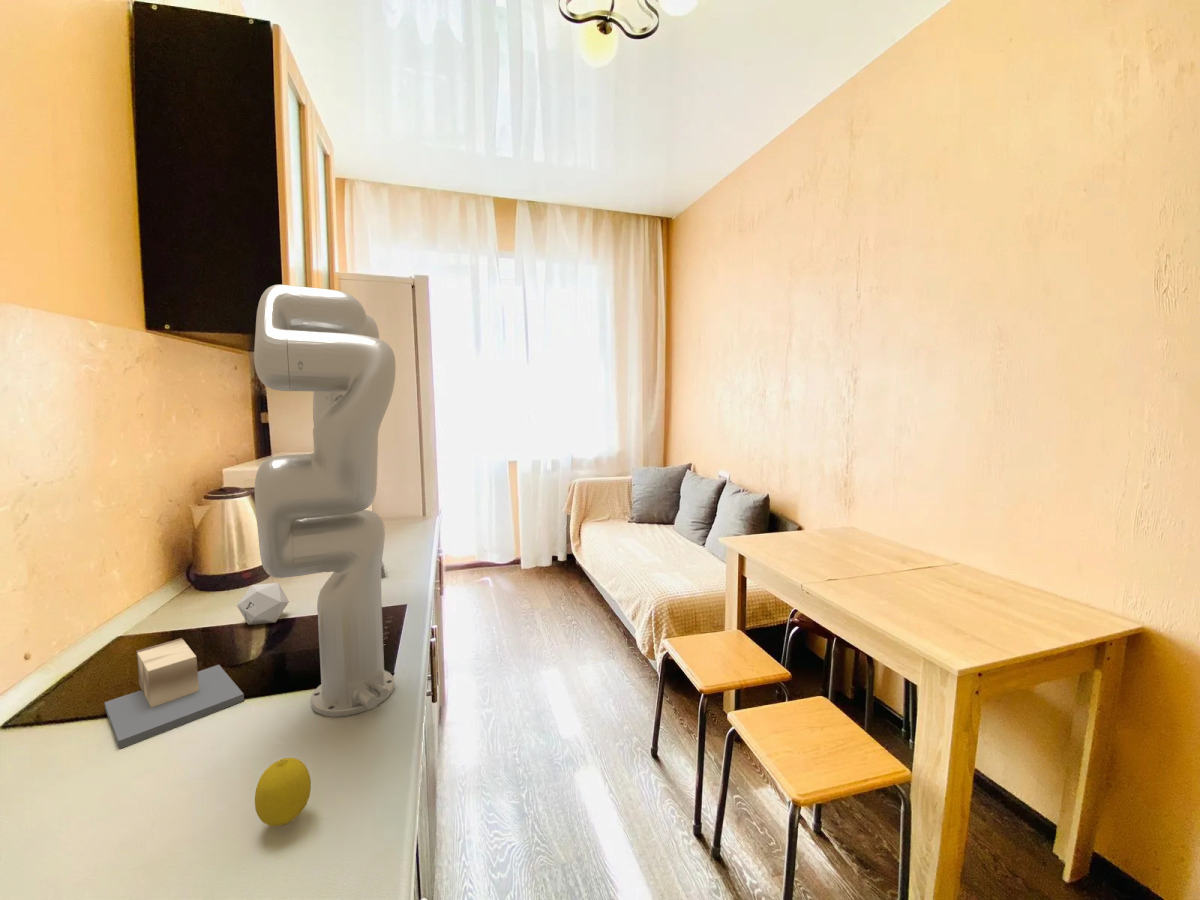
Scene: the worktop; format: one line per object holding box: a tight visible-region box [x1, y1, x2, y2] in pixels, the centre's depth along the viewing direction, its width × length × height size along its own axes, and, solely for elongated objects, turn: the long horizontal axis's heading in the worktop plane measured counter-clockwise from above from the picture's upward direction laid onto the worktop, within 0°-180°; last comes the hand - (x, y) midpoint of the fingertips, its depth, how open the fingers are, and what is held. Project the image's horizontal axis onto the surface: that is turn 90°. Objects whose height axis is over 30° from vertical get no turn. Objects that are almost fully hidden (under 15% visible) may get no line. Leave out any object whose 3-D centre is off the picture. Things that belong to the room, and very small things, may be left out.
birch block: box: [135, 637, 199, 708], centre depth 84 cm, size 6×6×10 cm
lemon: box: [254, 757, 312, 827], centre depth 58 cm, size 6×6×8 cm
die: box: [236, 582, 290, 626], centre depth 112 cm, size 8×9×10 cm
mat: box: [104, 664, 245, 750], centre depth 81 cm, size 14×15×1 cm
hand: (333, 465), depth 111 cm, fingers closed
